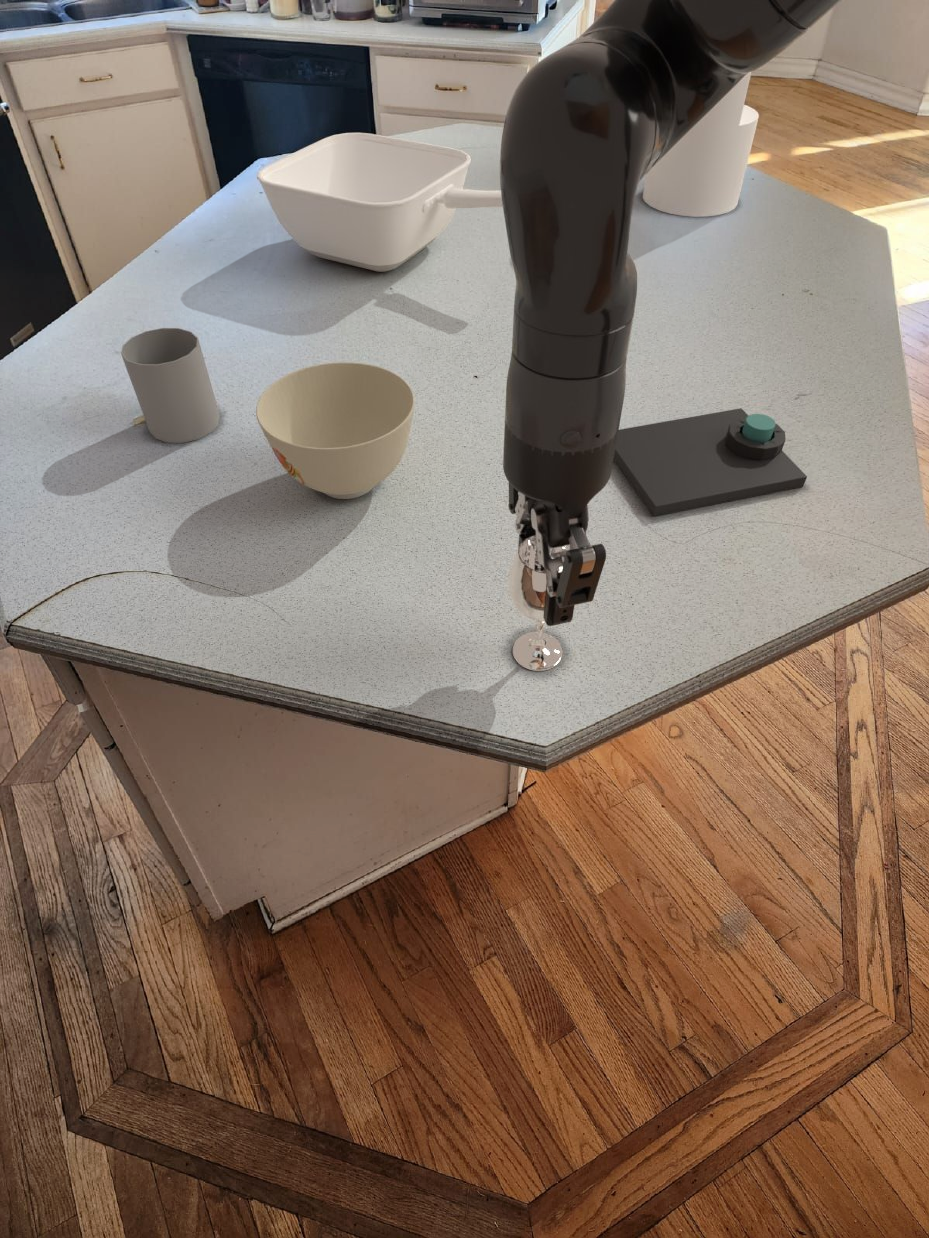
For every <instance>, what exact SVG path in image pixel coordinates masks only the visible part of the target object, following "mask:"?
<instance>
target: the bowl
mask: <svg viewBox="0 0 929 1238" xmlns="http://www.w3.org/2000/svg"><path fill="white" fill-rule="evenodd" d="M415 404H416V399H415V394H414V391H413V390H412V387H411V386H410V384H409V383H408V382H407V381H406V380H405V379H403V378H402V377H401V376H400V375H398V374H396V373H395V372H393V371H391V370H390V369H389V370H388V369H387V368H383V367H380V366H377V365H373V364H370V363H369V364H368V363H362V362H348V361H347V362H344V361H342V362H341V361H340V362H339V361H338V362H328V363H321V364H315V365H311V366H307V367H304V368H303V367H302V368H301V369H298V370H295V371H292V372H290V373H288V374H286V375H283V376H282V377H280V378H278V379H277V380H275V381H274V382H273V383H272V384H270V385H269V386H268V387H267V388H266V389H265V390H264V391H263V393H262V394H261V395H260V397H259V399H258V401H257V403H256V407H255V414H256V420H257V423H258V425H259V427H260V429H261V431H262V433H263V435H264V437H265V439H266V441H267V443H268V444H269V447H271V450H272V451H273V453H274V455H275V457H276V458H277V461H278V462H279V463H280V465H281V467H283V468H284V470H285V471H286V472H287V473H288V474H289V475H290V476H291V478H293V479H294V480H295V481H297V482H299V483H300V484H302V485H303V486H305V487H307V488H309V489H312V490H314V491H317V492H320V493H323V494H324V495H326V496H328V497H330V498H333V499H338V500H352V499H357V498H359V497H362V496H365V495H366V494H368V493H369V492H370V491H371V490H372V489H374V487H375V486H377V485H379V484H380V483H381V482H383V481H385V480H386V479H387V478H388V477H389V476H390V475H391V474H392V473H393V472H394V470H396V469H397V467H398V466H399V464H400V463H401V460H402V458H403V456H404V454H405V452H406V449H407V447H408V442H409V437H410V432H411V428H412V421H413V418H414V417H413V416H414V411H415Z"/></svg>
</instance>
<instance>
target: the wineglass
mask: <svg viewBox="0 0 929 1238" xmlns="http://www.w3.org/2000/svg"><path fill="white" fill-rule="evenodd" d="M566 550H570V545H566V546H561V547H556V548H551V547H549V554H552V553H557V552H562V551H566ZM509 571H510V572H509V579H508V590H509V595H510V598H511V601H512V604H513V605H514V606H515V608H516V609H517V611H519V612H520V613H521V614H522V615H524V616H525V617H527V618H528V619H532V620H535V623H536V628H537V629H536V631H532V632H527V633H525V634H522V635H521V636H520V637H518V638H517V639H516V640H515V641H514V643H513V646H512V656H513V658H514V659H515V661H516V662H517V663H518V665H520V666H521V667H523V668H525V669H528V670H530V671H535V672H544V671H548V670H551V669H553V668H555V667H556V666H557V665H558V664H559V663H560V662H561V660H562V658H563V653H564V652H563V648H562V645H561V643H560V642H559V641H558V639H556V638H555V637H554V636H552V635H550V634H548V633H545V632H543V629H544V627H545V624H546V622H545V620H544V618H543V616H544V607H545V598H546V589H547V583H546V570H545V568H544V567H543V566H542V565H541V564H540V563H539V561H538V552H537V541H536V534H535V535H532V536H530V537H528V538H526V539H525V540H524V541H523V542H522V543H521V544H520V546H519V548H518V547H517V551H516V554H515V557H514V559H513V560H512V564H511V567H510V570H509ZM561 571H562V567H559V568H558V569H557V579H560V575H561Z"/></svg>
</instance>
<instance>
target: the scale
mask: <svg viewBox="0 0 929 1238" xmlns="http://www.w3.org/2000/svg"><path fill="white" fill-rule="evenodd" d="M748 416H749V414H748V413H746V411H745V410H744V409H743V408H742V407H741V408H740V407H739V408H734V409H729V410H723V411H716V412H711V413H707V414H706V413H705V414H701V415H695V416H689V417H683V418H677V419H672V420H667V421H666V420H665V421H660V422H655V423H649V424H643V425H637V426H632V427H626V428H619V430H618V436H617V442H616V448H615V453H614V459H613V462H615V463H616V465H617V467H618V468H619V469H620V471H621V472H622V474H623V476H624V477H625V478H626V479H627V481H628V482H629V484H630V485H631V487H632V489H634V491H635V492H636V494H637V495H638V497H639V498H640V500H641V501H642V502H643V504H644V505H645V506H646V509H648V511H649V512H650V514H651V515H652V517H659V516H664V515H668V514H669V515H670V514H674V513H678V512H683V511H688V510H689V511H690V510H693V509H699V508H703V507H708V506H713V505H714V506H715V505H719V504H723V503H728V502H734V501H739V500H745V499H749V498H753V497H754V498H755V497H759V496H765V495H769V494H773V493H779V492H784V491H790V490H793V489H799V488H803V487H804V486H805V483H806V481H807V478H808V476H807V475H806V474H805V472H804V471H802V469H800V467H799V466H798V465H796V463H795V462H794V461H793V460H792V459H791V458H790V456H788V455H787V454H786V453H785V452H784V451H783V448H784V446H785V442H786V432H785V430H784V429H783V428H782V427H781V426H780V425H778V424H777V423H776V422H775V428H774V431H773V434H772V436H771V439H770V440H769V441H767V442H755V441H751V440H749V439H747V438H744V436H743V435H742V430H743V427H744V424H745V420H746V418H747V417H748Z"/></svg>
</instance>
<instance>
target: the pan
mask: <svg viewBox="0 0 929 1238" xmlns="http://www.w3.org/2000/svg"><path fill="white" fill-rule="evenodd" d="M471 162H472V160H471V155H470V154H468V153H467V152H465V151H464V150H462V149H457V148H454V147H449V146H444V145H439V144H432V143H426V142H421V141H414V140H411V139H409V140H408V139H403V138H397V137H393V136H386V135H380V134H376V133H375V134H374V133H367V132H345V133H344V132H343V133H339V134H333V135H330V136H326V137H324V138H322V139H320V140H317V141H316V142H313V143H311V144H309V145H307V146H305V147H302V148H301V149H298V150H297V151H295V152H293V153H290V154H289V155H286V156H284V157H282V158H280V159H278V160H276V161H274V162H272V163H270V164H268V165H265V166H264V167H262V168H261V169H259V170H258V172H257V175H256V179H257V180H258V181H259V183H260V185H261V188H262V189H263V192H264V194H265V196H266V199H267V200H268V203H269V205H270V207H271V209H272V211H273V214H274V215H275V217H276V219H277V220H278V222H279V224H280V225H281V226H282V227H283V229H284V230H285V232H287V233H288V235H289V236H290V237H291V238H292V240H293V241H295V243H297V244H298V245H299V246H300V247H301V248H303V249H304V250H305V251H307V252H308V253H309V254H311V255H313V256H315V257H317V258H321V259H325V260H329V261H333V262H337V263H340V264H341V263H342V264H346V265H350V266H353V267H357V268H361V269H367V270H370V271H375V272H378V273H379V272H380V273H382V272H384V273H385V272H390V271H392V270H395V269H397V268H399V267H400V266H401V265H403V264H404V263H406V262H408V260H410V259H411V258H413V257H414V256H415V255H417V254H418V253H419V252H421V251H422V250H424V249H425V248H427V247H428V246H429V245H431V244H432V243H433V242H434V241H435V240H436V239H437V238H438V237H439V236H440V235H441V234H442V233H443V232H444V231H445V229H446V228H447V226H448V225H449V224H450V222H451V221H452V219H453V217H454V215H455V213H456V211H457V209H477V208H479V209H480V208H501V207H502V208H503V204H502V197H501V189H500V190H481V189H469V188H468V189H467V188H464V186H465V182H466V178H467V173H468V169H469V166H470V164H471Z"/></svg>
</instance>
